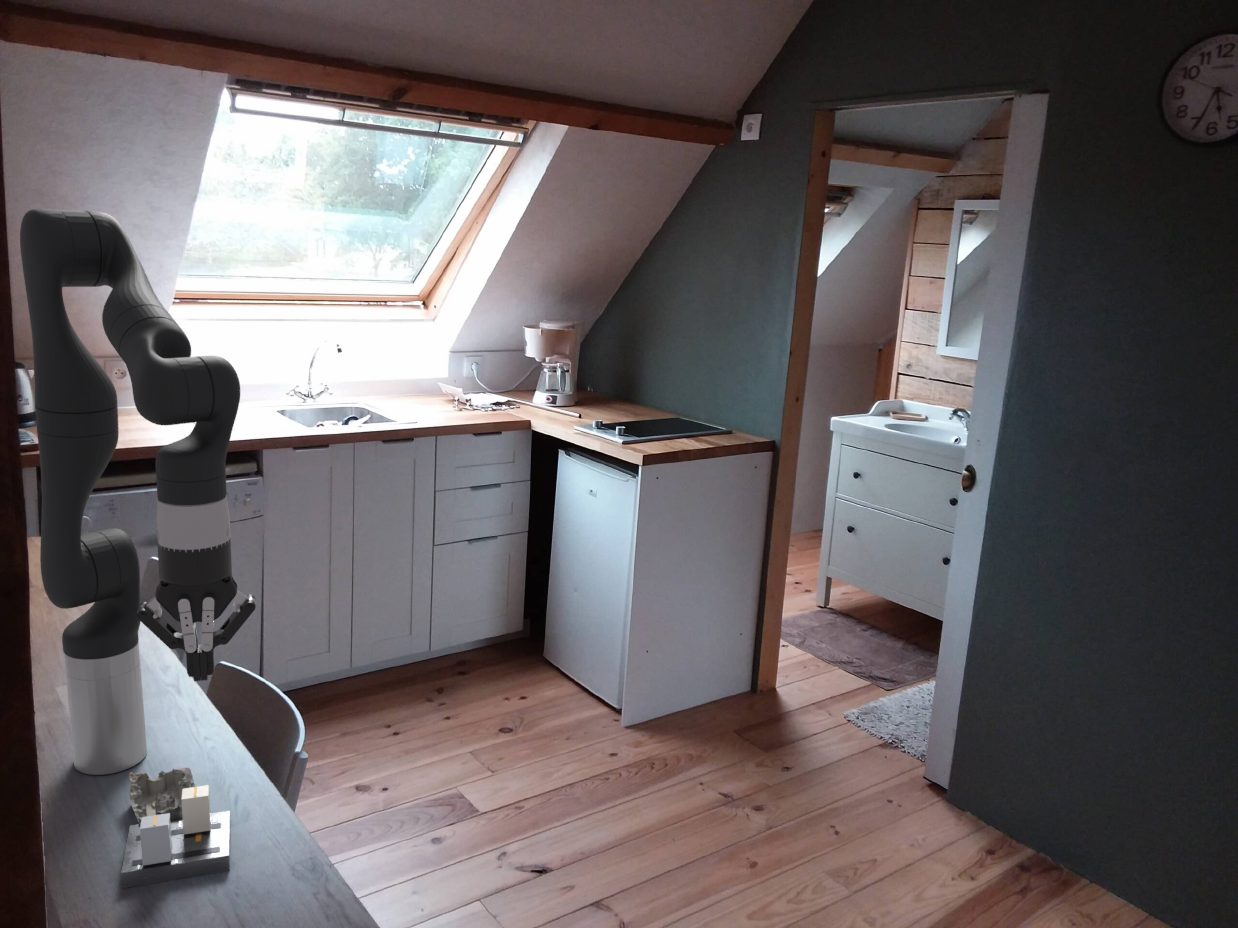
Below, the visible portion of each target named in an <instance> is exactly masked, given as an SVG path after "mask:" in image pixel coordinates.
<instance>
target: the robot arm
mask: <svg viewBox="0 0 1238 928" xmlns="http://www.w3.org/2000/svg"><path fill="white" fill-rule="evenodd" d="M19 245H20V256H21V265H22V272H23V279H24V286H25V293H26V299H27V300H26V301H27V306H28V308H27V309H28V314H29V321H30V328H31V338H32V351H33V352H32V353H33V355H32V356H33V371H34V372H33V373H34V405H35V406H34V407H35V410H34V411H35V419H36V420H35V423H36V425H35V426H36V434H37V436H36V437H37V444H38V454H39V464H40V480H41V520H40V521H41V522H40V525H41V526H40V530H41V531H40V546H39V547H40V550H39V551H40V554H39V555H40V557H39V558H40V559H39V560H40V561H39V562H40V563H39V564H40V573H41V581H42V585H43V588H44V591H45V594H46V596H47V598H48V599H49V602H51V603H52V604H53V606H55V607H57V608H59V609H63V610H67V609H72V608H78V607H82V606H87V605H90V604H92V605H91V606H90V607H89V608H88V610H86V612H84V613H83V614H81V615H80V616H79V617H77V618H76V619H75V620H73V621H72V622H71V623H69V624H68V625H67V626H66V627H65V628H64V630H63V631H62V635H61V637H62V638H61V641H62V651H63V652H62V653H63V662H64V663H63V665H64V672H65V681H66V682H65V683H66V693H67V704H68V716H69V725H70V735H71V747H72V757H73V765H74V766H73V767H74V768H75V769H76V771H78V772H80V773H83V774H86V775H90V776H93V775H94V776H95V775H96V776H99V775H100V776H101V775H110V774H115V773H119V772H123V771H125V770H127V769H130V768H132V767H134V766H136V765H138V764H139V763H140V762H142V761H143V760H144V759H145V757H146V756H147V754H148V753H147V751H148V746H147V736H146V735H147V734H146V718H145V707H144V695H143V692H144V691H143V683H142V679H143V678H142V669H141V667H142V665H141V659H140V658H141V656H140V645H139V644H140V643H139V641H140V640H139V630H140V625H141V624H143V625H144V626H145V627H146V628H147V629H149V631H150V632H152V634H154V635H155V636H156V637H157V638H158V639H159V640H160V641H161V642H163V644H164V645H165V646H167V648H169V649H170V650H175V649H181V650H183V651H184V652H185V655H186V656H185V657H186V658H185V659H186V673H187V676H188V678H192V677H193V682H200V681H201V682H202V681H208V679H209V676H213V673H214V671H215V654H214V653H215V652H214V651H215V648H216V647H218V646H222V645H223V646H225V645H227V644H228V643H229V642H230V641H231V640H232V638H233V637H234V636H235V635H236V634H237V632H239V630H240V629H241V628H242V627H243V625H244V624H245V622H246V621H247V620H248V618H250V616H251V615H252V614H253V613H254V611H255V610H256V606H257V605H256V597H255V596H254V595H253V594H248V595H246V594H245V593H243V592H242V591H240V590H238V584H237V582H236V581H235V579H234V577H233V567H232V565H233V564H232V541H231V539H232V538H231V532H232V529H231V517H230V507H229V505H228V504H229V503H228V496H227V474H226V473H227V471H226V460H227V455H228V449H229V446H230V441H231V438H232V437H231V436H232V432H233V427H234V424H235V422H236V417H237V414H238V411H239V406H240V400H241V383H240V378H239V377H238V373H237V371H236V369H235V368H234V366H233V365H232V364H231V363H230V361H228V360H227V359H226V358H224V357H222V356H219V355H202V356H201V355H200V356H199V355H197V356H191V355H192V345H191V343H190V342H191V341H190V340H189V338H188V336H187V334H186V333H185V331H184V330H183V329H182V328H181V327H180V325H179V323H177V322H176V320H175V319H174V318H173V316H172V315H171V314H170V313H169V311H168V310H167V309H166V308H165V306H164V305H163V304H162V303H161V300H159V298H158V296H157V295H156V293H155V291H154V289H153V287H152V284H151V282H150V280H149V278H148V275H147V274H146V272H145V269H144V266H143V265H142V262H141V260H140V259H139V257H138V255H137V253H136V251H135V249H134V246H133V243H132V242H131V239H130V238H129V236H128V234H127V232H126V231H125V230H124V228H123V227H122V225H121V223H120V222H119V221H118V220H117V219H116V218H115V217H114V216H112V215H110V214H109V213H105V212H101V211H96V210H79V209H78V210H77V209H57V208H56V209H55V208H54V209H52V208H33V209H29V210H28V211H26V213H24V216H23V217H22V220H21V222H20V230H19ZM103 286H106V287H110V288H111V289H112V290H111V291H110V293H109V295H108V297H107V299H106V301H105V303H104V305H103V310H102V313H101V315H102V316H101V321H102V327H103V330H104V334H105V335H106V337H107V339H108V341H109V342H110V344H111V346H112V347H113V349H114V350H115V351H116V353H117V354H118V355H119V357H120V358H121V360H122V361H123V363H125V366H126V369H127V371H128V375H129V378H130V381H131V382H130V383H131V388H132V395H133V401H134V405H135V409H136V410H137V413H139V415H140V416H141V417H142V418H143V419H145V420H146V421H148V422H149V423H152V424H155V425H158V426H173V425H174V426H175V425H176V426H177V425H182V424H191V423H195V425H194V426H193V429H192V430H191V432H190V434H188V435H187V436H185V437H184V438H182V439H180V440H179V439H178V440H177V441H174V442H172V443H168V444H166V445H164V446H162V447H161V448H159V449H158V451H157V452H156V455H155V476H156V478H155V479H156V493H157V494H156V495H157V497H156V498H157V505H156V514H155V515H156V517H155V518H156V519H155V520H156V521H155V523H156V525H155V526H156V530H155V537H156V543H157V557H158V558H157V559H158V560H157V561H158V578H159V582H158V585H157V587H156V588H155V589H156V590H155V594H154V596H152V598H151V599H149V600H148V601H147V602H146V601H142V602H141V571H140V570H141V569H140V567H141V566H140V561H139V555H138V552H137V547H136V545H135V542H134V541H133V539H132V538H131V536H130V535H129V533H127V532H126V531H124V530H123V529H120V528H115V527H113V528H106V529H101V530H95V531H92V532H87V533H84V534H83V533H82V526H83V525H82V524H83V517H84V513H85V508H86V506H87V502H88V501H89V499H90V497H91V494H92V493H93V490H94V488H95V486H96V485H97V483H98V482H99V479H100V478H101V476H102V475H103V473H104V471H105V470H106V468H107V466H108V464H109V462H110V461H111V459H112V458H113V456H114V454H115V451H116V448H117V446H118V443H119V442H118V441H119V429H120V428H119V411H118V394H117V390H116V388H115V384H114V383H113V381H112V379H111V377H110V376H109V375H108V373H107V372H106V371H105V369H104V368H103V367H102V365H101V364H100V363H99V362H98V360H97V358H96V357H95V356H94V355H93V354H92V353H91V351H89V349H88V348H87V347H86V345H85V343H83V340H81V338H80V337H79V335H78V334H77V332H76V331H75V329H74V327H73V326H72V323H71V321H70V319H69V315H68V313H67V310H66V307H65V302H64V301H65V300H64V295H63V288H76V287H78V288H84V287H85V288H86V287H87V288H89V287H91V288H94V287H95V288H96V287H103ZM232 601H233V604H232V610H233V611H232V613H231V614H230V615H229V616H228V617H227V619H226V620H225V621H224V623H223V624H222V625H221V627H220V628H219V629H218V630H214V629H215V621H216V620H217V619H219V618H220V616H221V615H222V614H223V613H224V612H225V611H226V609H227V608H228V606H229V605H230V604H231V603H232ZM162 607H163V608H162ZM163 609H164V610H165V611H166V612H167V613H168V614H169V615H170V617H172V618H173V619H174V620H175V621H176V622H179V623H180V627H181V632H180V631H179V630H177V628H175V627H174V626H173V624H171V623H170V622H169V621H168V620H167V619H166V618H165V617H164V616H163V615H162V614H163ZM221 617H222V616H221ZM196 623H201V638H200V639H201V640H200V641H201V643H200V644H199V639H198V633H197V624H196Z"/></svg>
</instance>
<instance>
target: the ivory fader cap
mask: <svg viewBox="0 0 1238 928" xmlns="http://www.w3.org/2000/svg"><path fill="white" fill-rule="evenodd" d="M210 797H211V796H210V784H206V785H201V786H200V785H198V786H195V787H191V788H184V789H182V799H181V800H182V816H183V831H184V834H190V833H197V832H203V831H210V829H211V799H210Z"/></svg>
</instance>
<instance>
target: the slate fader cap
mask: <svg viewBox="0 0 1238 928" xmlns="http://www.w3.org/2000/svg"><path fill="white" fill-rule="evenodd" d="M140 837H141V849H142V862H143V865H150V864H156V863H162V862H168V861H171V858H172V835H171V820H170V813H167V814H160V815H153V816H146V817H142V819H141V825H140Z"/></svg>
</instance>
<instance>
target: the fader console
mask: <svg viewBox="0 0 1238 928" xmlns="http://www.w3.org/2000/svg"><path fill="white" fill-rule="evenodd" d="M170 820H171V835H172V858H171V861H168V862H162V863H156V864H150V865H143V862H142V849H141V837H140V825H141V824H139V823H138V824H137V823H136V824H131V825H129V829H128V834H127V840H126V845H125V850H124V856H123V861H122V862H123V863H122V867H121V872H120V876H121V887H122V888H123V889H126V888H131V887H139V886H143V885H149V884H150V885H151V884H156V883H163V882H166V881H173V880H174V881H175V880H179V879H185V878H191V877H197V876H202V875H208V874H214V873H221V872H225V871H227V872H228V871H230V868H231V833H232V832H231V828H232V827H231V825H232V822H231V810H224V811H218V812H212V813H211V829H210V831H203V832H197V833H190V834H184V831H183V818H177V819H170Z"/></svg>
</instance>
